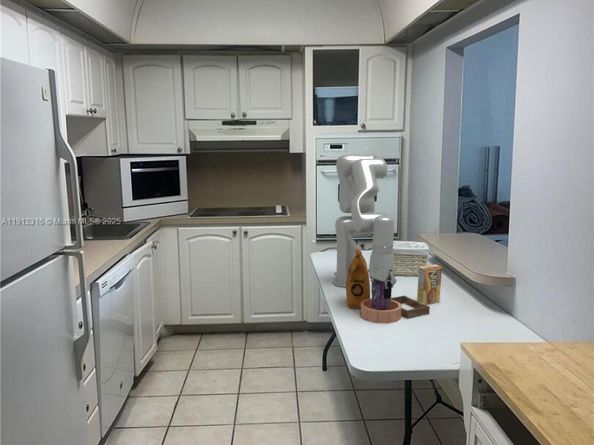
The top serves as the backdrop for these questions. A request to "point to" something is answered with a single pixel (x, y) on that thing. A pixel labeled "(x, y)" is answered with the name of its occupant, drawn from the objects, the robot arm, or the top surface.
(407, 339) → the top surface
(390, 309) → the bowl
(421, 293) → the candy box
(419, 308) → the tray frame
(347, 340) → the top surface
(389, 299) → the beverage can
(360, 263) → the coffee package
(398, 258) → the storage basket
